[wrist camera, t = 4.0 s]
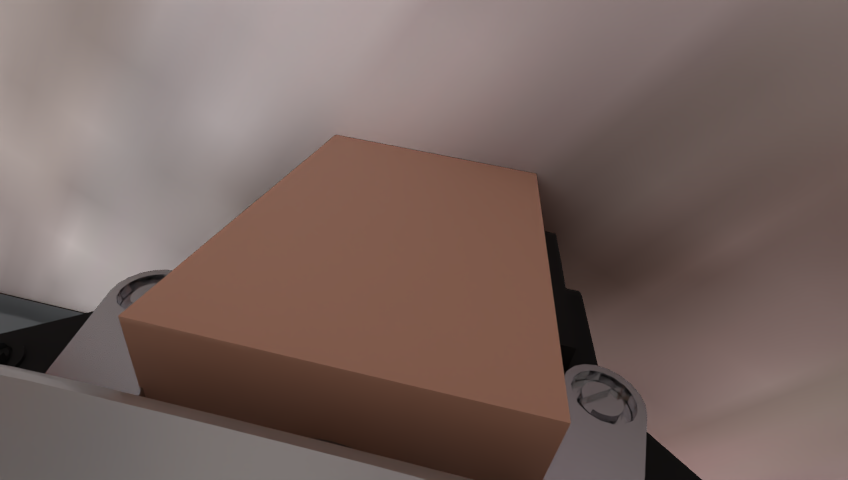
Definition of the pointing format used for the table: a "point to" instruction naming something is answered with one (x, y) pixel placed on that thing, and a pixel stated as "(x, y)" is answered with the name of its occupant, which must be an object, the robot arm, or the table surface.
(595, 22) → the table surface
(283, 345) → the terracotta block
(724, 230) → the table surface
